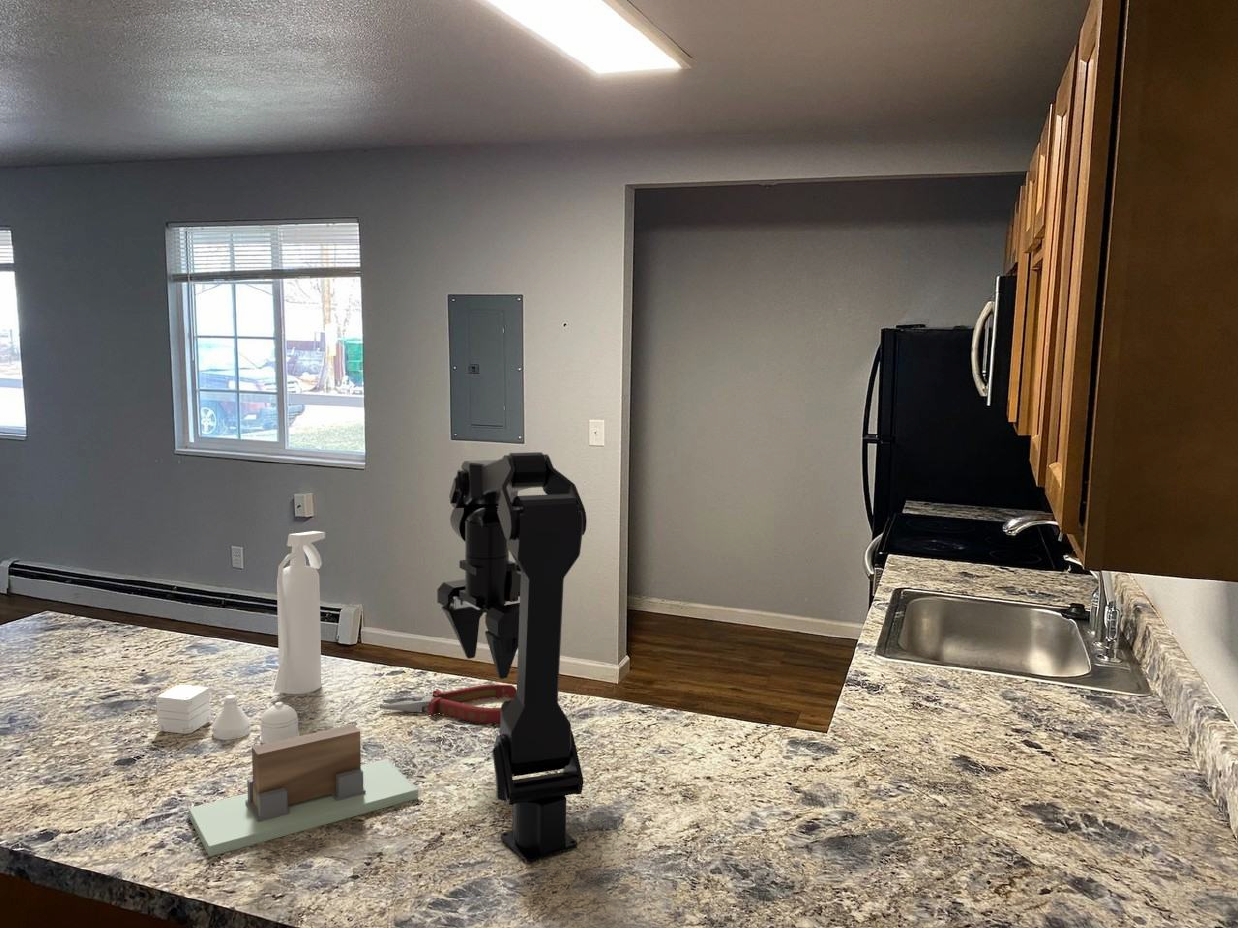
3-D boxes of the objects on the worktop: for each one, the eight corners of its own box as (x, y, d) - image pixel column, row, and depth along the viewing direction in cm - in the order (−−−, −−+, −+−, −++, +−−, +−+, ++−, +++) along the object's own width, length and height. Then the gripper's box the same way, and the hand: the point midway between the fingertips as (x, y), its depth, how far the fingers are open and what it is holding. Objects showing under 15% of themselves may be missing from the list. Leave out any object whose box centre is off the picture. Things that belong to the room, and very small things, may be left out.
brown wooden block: (360, 785, 116) (360, 730, 115) (259, 812, 109) (257, 754, 108) (353, 778, 118) (353, 724, 117) (253, 803, 111) (251, 746, 110)
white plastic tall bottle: (251, 697, 146) (254, 537, 143) (301, 674, 157) (304, 526, 155) (288, 705, 144) (292, 542, 141) (336, 681, 155) (340, 530, 153)
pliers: (388, 697, 149) (388, 681, 149) (516, 697, 151) (517, 681, 150) (374, 727, 138) (374, 710, 138) (513, 727, 139) (513, 710, 139)
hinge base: (418, 798, 116) (417, 766, 116) (209, 856, 102) (208, 820, 102) (386, 767, 124) (386, 737, 124) (189, 817, 110) (187, 784, 110)
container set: (157, 733, 133) (155, 696, 133) (181, 719, 139) (179, 683, 138) (286, 749, 130) (285, 710, 129) (306, 733, 135) (305, 696, 134)
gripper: (576, 561, 123) (574, 677, 125) (506, 535, 138) (505, 639, 140) (500, 572, 116) (499, 694, 118) (435, 543, 131) (435, 652, 134)
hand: (486, 667), depth 128 cm, fingers open, 9 cm apart
